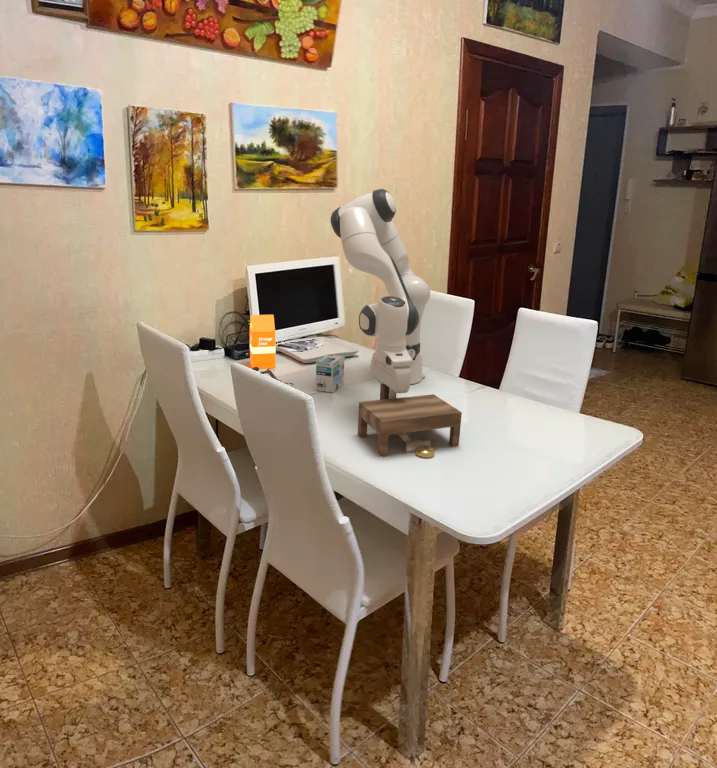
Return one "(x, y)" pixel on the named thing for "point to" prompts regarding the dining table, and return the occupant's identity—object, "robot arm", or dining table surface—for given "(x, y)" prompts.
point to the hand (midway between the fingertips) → (387, 398)
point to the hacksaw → (268, 372)
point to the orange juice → (262, 341)
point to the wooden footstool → (408, 418)
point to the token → (425, 452)
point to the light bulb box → (330, 373)
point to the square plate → (319, 350)
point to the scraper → (407, 437)
